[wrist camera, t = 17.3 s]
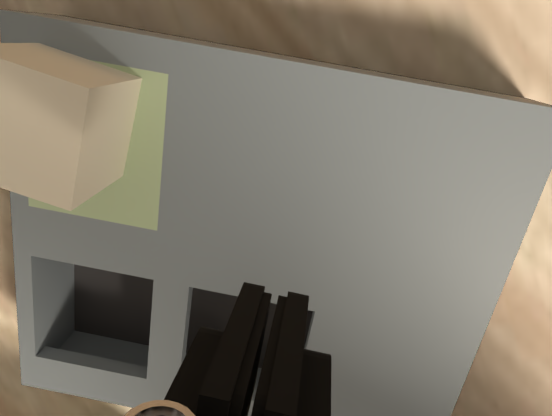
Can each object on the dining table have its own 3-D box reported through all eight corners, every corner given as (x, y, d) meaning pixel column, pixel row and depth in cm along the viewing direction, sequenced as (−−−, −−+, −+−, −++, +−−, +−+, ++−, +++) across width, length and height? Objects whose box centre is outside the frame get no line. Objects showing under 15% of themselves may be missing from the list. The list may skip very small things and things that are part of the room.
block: (142, 77, 20) (89, 88, 16) (122, 175, 22) (70, 211, 18) (39, 43, 20) (-45, 43, 16) (28, 144, 22) (-50, 171, 18)
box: (525, 98, 24) (575, 111, 19) (413, 406, 32) (429, 468, 27) (59, 15, 25) (-2, 9, 20) (64, 335, 33) (21, 384, 28)
